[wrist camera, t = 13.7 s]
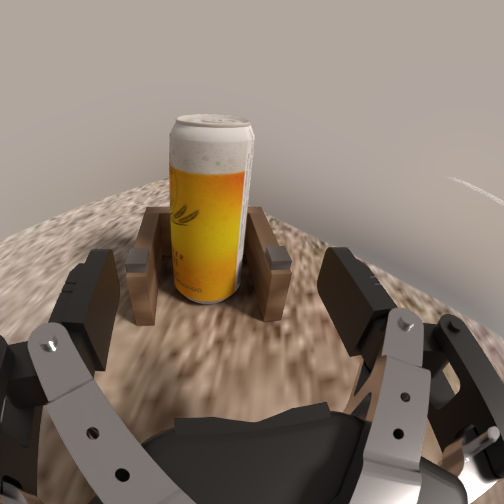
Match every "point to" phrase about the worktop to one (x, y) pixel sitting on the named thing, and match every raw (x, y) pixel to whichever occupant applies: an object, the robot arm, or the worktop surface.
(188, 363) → the worktop surface
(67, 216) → the worktop surface
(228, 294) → the beer can
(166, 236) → the holder
